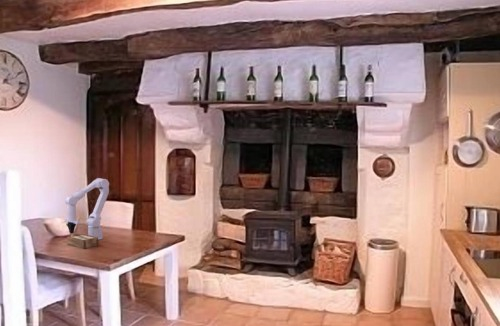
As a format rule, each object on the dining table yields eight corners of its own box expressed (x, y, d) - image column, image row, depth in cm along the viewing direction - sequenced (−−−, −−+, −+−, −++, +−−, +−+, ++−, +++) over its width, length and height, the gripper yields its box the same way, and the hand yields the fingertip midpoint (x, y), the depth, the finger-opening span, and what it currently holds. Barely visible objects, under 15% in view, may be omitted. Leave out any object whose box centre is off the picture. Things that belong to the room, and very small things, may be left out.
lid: (81, 235, 329) (81, 232, 328) (95, 238, 319) (95, 235, 319) (69, 238, 321) (69, 234, 321) (83, 241, 312) (83, 237, 312)
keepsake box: (81, 241, 330) (81, 233, 330) (98, 245, 320) (97, 237, 319) (67, 244, 321) (67, 236, 321) (83, 248, 311) (83, 240, 310)
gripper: (59, 213, 327) (60, 232, 328) (72, 215, 319) (72, 235, 320) (69, 212, 333) (69, 231, 334) (81, 214, 324) (81, 233, 325)
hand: (71, 233), depth 327 cm, fingers closed
